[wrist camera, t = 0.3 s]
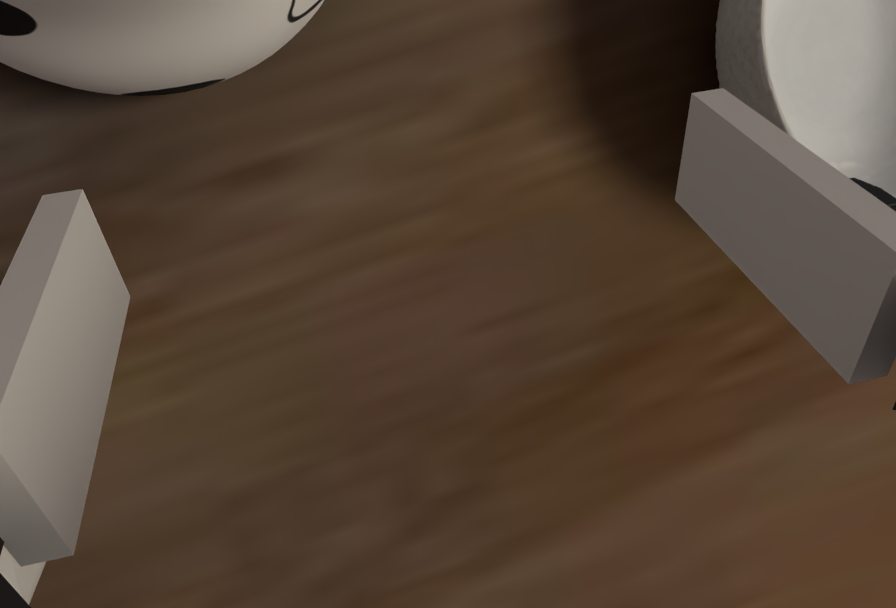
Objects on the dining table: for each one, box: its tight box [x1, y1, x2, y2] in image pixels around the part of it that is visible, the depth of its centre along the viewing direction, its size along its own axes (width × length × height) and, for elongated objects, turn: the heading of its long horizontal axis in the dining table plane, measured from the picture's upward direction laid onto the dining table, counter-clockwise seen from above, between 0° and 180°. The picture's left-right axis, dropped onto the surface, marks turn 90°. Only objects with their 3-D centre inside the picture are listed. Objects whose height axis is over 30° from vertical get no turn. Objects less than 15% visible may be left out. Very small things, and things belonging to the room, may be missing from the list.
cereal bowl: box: [715, 0, 896, 198], centre depth 32 cm, size 17×17×7 cm
